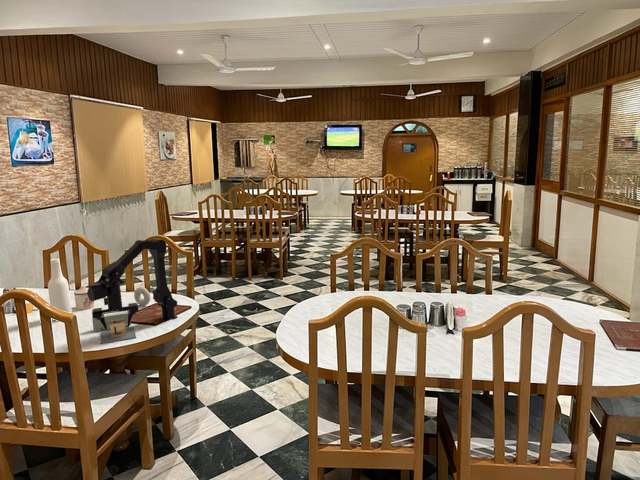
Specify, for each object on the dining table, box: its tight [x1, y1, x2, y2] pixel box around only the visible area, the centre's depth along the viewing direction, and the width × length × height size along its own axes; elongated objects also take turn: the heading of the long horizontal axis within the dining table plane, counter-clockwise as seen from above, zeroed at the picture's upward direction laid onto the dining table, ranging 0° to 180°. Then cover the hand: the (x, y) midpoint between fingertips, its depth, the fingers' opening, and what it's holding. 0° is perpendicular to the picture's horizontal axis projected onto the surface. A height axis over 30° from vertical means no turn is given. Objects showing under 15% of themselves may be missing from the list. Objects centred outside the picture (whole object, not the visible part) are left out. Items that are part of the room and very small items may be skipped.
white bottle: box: [47, 257, 73, 314], centre depth 234 cm, size 9×9×30 cm
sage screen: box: [91, 311, 132, 333], centre depth 222 cm, size 6×16×6 cm, turn 115°
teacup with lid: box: [73, 285, 95, 311], centre depth 252 cm, size 12×9×12 cm
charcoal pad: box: [100, 326, 137, 345], centre depth 213 cm, size 14×14×1 cm
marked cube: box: [109, 318, 126, 338], centre depth 212 cm, size 6×6×6 cm
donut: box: [133, 286, 151, 307], centre depth 252 cm, size 10×4×10 cm, turn 66°
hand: (117, 328), depth 212 cm, fingers open, 9 cm apart
